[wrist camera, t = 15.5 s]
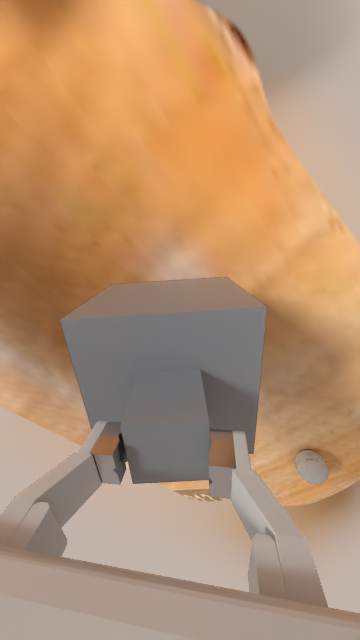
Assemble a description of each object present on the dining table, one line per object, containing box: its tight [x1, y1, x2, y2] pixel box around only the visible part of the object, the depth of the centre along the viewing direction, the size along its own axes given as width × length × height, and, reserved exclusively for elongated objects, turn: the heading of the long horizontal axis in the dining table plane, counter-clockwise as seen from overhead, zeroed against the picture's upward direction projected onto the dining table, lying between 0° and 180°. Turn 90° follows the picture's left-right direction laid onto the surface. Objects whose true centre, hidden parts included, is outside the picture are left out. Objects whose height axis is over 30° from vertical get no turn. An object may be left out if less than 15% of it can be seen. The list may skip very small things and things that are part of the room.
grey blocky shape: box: [60, 277, 267, 484], centre depth 15 cm, size 10×10×12 cm
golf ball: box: [295, 450, 328, 485], centre depth 30 cm, size 4×4×4 cm
